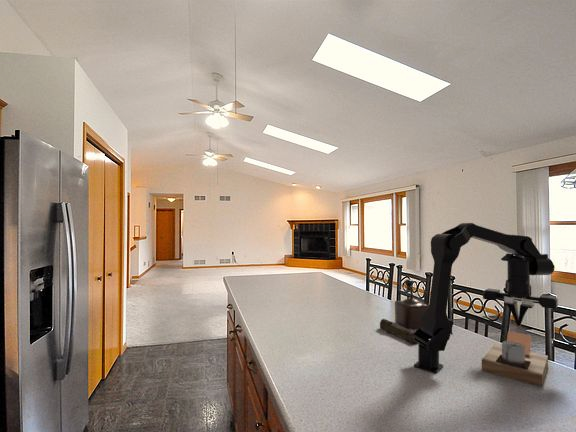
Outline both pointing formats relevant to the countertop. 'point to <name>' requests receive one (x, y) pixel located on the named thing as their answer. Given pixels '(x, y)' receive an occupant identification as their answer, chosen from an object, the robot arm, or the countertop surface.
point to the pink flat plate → (521, 340)
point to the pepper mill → (410, 310)
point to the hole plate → (531, 373)
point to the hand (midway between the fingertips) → (518, 325)
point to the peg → (513, 354)
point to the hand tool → (396, 330)
